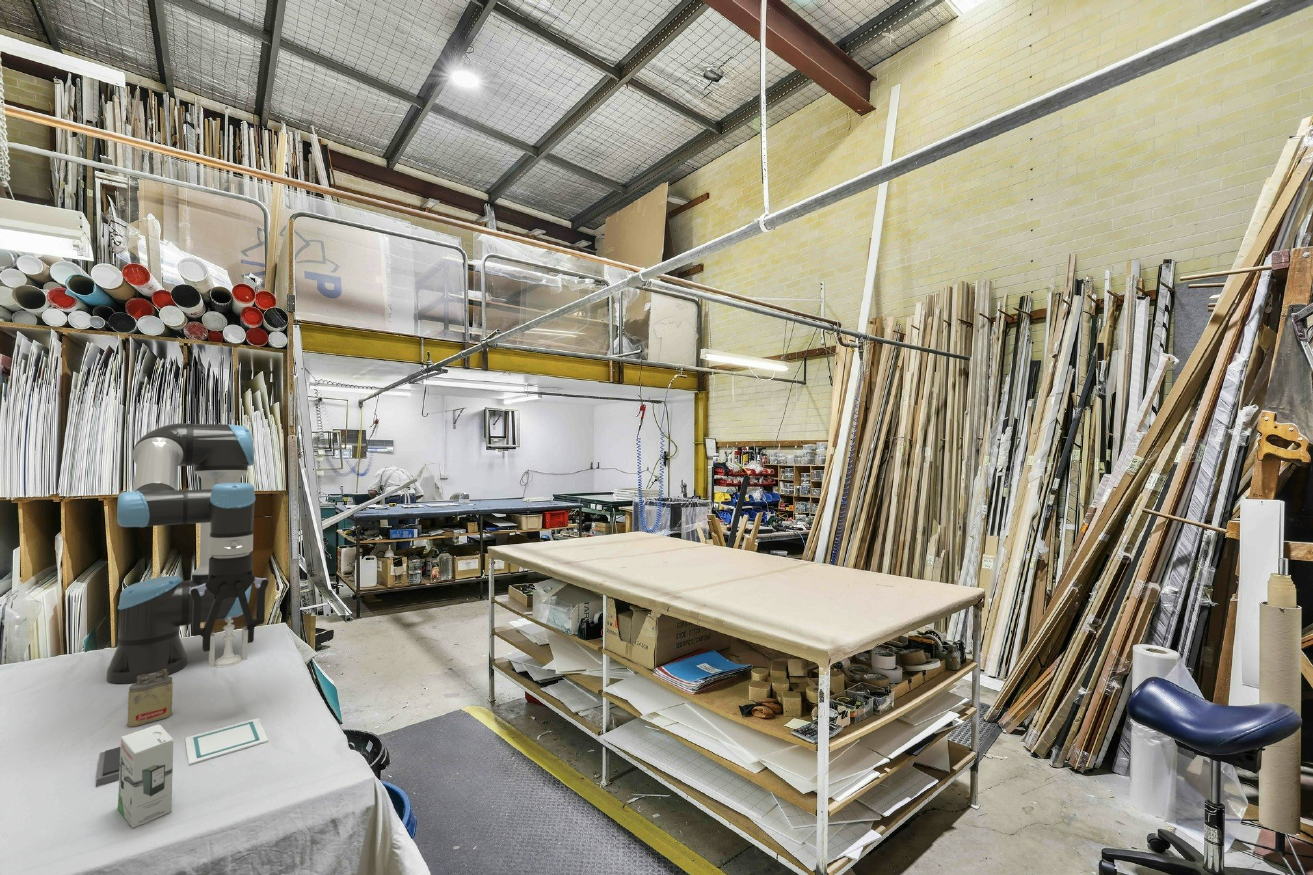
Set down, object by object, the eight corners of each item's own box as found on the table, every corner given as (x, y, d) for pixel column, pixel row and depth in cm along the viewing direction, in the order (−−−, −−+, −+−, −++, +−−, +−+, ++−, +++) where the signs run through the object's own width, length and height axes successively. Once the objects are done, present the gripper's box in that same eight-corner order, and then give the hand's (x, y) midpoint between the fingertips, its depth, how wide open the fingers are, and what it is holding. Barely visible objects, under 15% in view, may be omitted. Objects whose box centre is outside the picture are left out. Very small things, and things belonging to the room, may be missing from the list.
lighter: (128, 729, 112) (129, 680, 112) (125, 722, 114) (127, 675, 115) (173, 716, 117) (175, 670, 118) (170, 710, 120) (171, 665, 120)
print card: (184, 739, 109) (185, 737, 109) (258, 719, 117) (258, 717, 117) (188, 765, 100) (188, 763, 100) (268, 741, 108) (268, 739, 108)
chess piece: (226, 668, 115) (227, 621, 115) (207, 666, 116) (208, 619, 116) (247, 659, 119) (249, 614, 119) (229, 657, 120) (231, 612, 120)
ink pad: (99, 759, 101) (99, 750, 101) (157, 743, 107) (157, 735, 107) (96, 786, 93) (96, 777, 93) (159, 767, 99) (159, 759, 99)
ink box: (116, 808, 88) (118, 734, 88) (156, 792, 92) (158, 722, 92) (131, 829, 83) (133, 752, 84) (173, 811, 87) (175, 738, 88)
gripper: (177, 563, 109) (173, 679, 109) (284, 552, 121) (280, 656, 121) (175, 556, 114) (171, 666, 114) (278, 546, 126) (274, 646, 126)
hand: (227, 661), depth 118 cm, fingers closed on chess piece, 5 cm apart
